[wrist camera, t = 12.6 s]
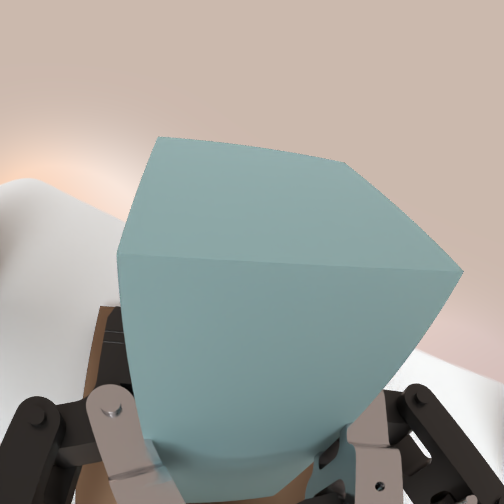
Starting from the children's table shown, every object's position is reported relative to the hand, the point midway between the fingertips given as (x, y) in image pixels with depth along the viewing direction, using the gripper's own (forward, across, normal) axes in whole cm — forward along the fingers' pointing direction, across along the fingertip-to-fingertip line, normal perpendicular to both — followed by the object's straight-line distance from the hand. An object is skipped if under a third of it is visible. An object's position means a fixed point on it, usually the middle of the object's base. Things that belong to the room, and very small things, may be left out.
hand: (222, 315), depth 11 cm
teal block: (-3, 0, +7) cm, 8 cm away
